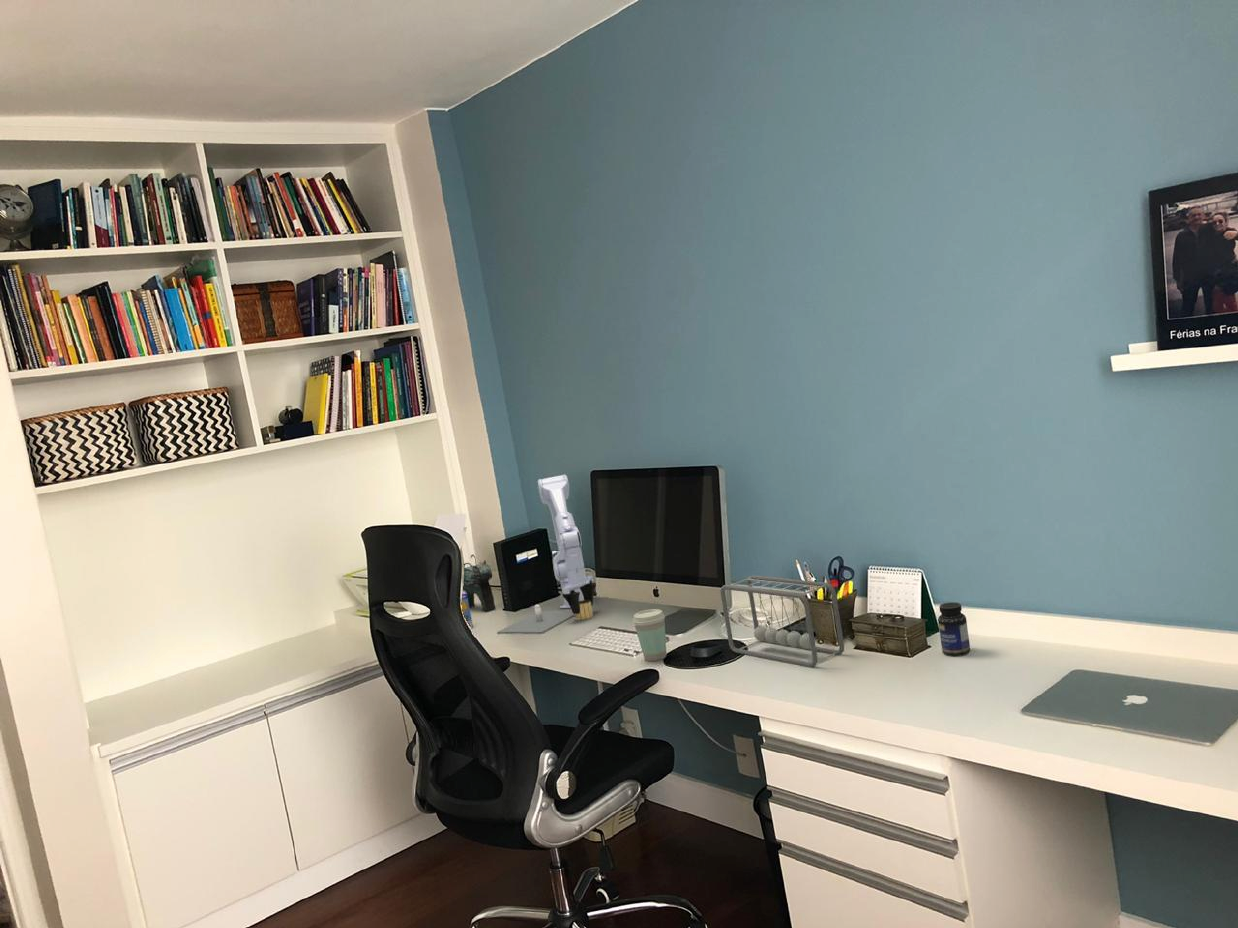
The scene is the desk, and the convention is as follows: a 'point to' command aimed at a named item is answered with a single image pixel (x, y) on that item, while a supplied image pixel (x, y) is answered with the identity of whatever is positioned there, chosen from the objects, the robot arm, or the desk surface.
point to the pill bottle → (953, 630)
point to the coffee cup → (651, 633)
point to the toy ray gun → (479, 585)
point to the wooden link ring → (584, 610)
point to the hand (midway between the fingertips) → (583, 609)
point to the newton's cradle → (782, 635)
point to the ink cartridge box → (466, 609)
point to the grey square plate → (538, 622)
